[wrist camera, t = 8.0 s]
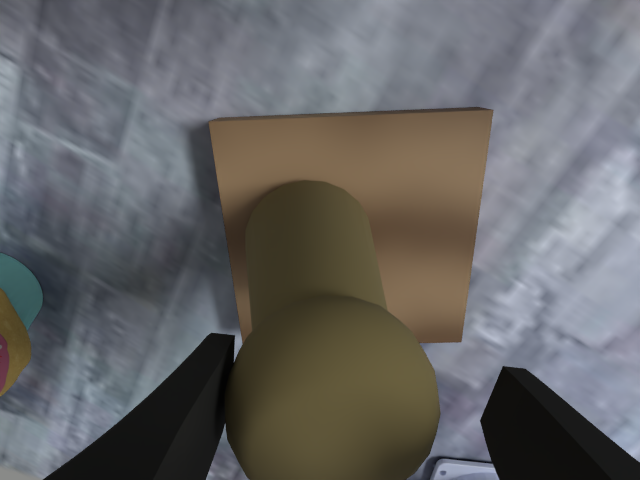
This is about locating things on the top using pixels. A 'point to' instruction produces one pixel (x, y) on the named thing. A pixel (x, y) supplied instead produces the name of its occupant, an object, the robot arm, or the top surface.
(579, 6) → the top surface
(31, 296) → the cupcake
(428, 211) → the walnut board
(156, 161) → the top surface
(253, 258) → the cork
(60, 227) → the top surface
